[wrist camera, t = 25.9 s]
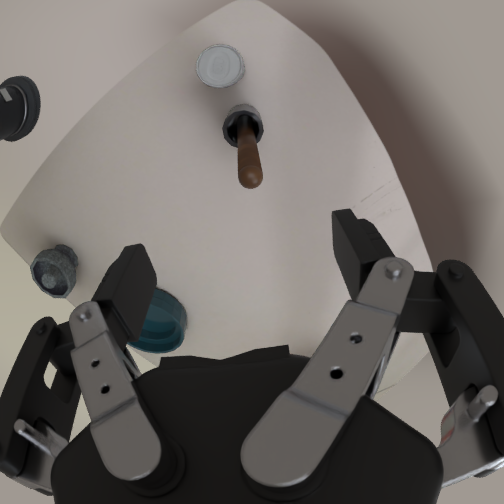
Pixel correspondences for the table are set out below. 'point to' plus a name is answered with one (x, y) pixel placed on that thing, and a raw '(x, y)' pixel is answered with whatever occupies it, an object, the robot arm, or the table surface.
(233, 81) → the beverage can
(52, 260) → the mortar and pestle
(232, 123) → the crock
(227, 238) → the table surface
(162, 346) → the bowl
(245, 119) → the stick
